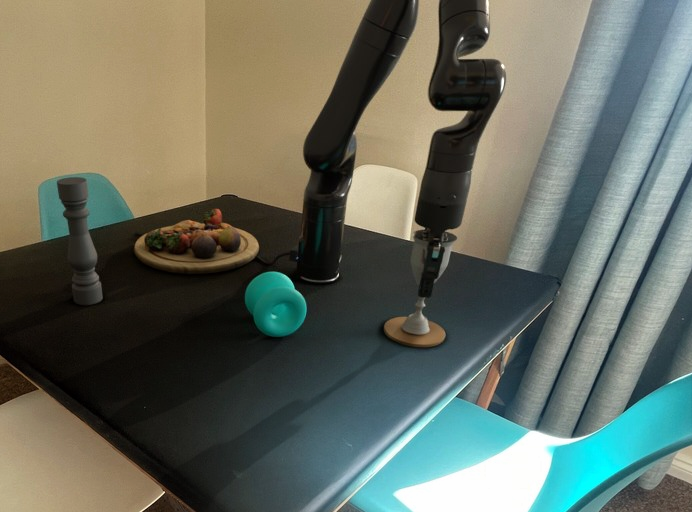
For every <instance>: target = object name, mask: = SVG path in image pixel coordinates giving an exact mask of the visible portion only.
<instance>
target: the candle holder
mask: <svg viewBox="0 0 692 512" xmlns="http://www.w3.org/2000/svg"><path fill="white" fill-rule="evenodd" d="M56 188H57V194H58V199H59V200H60V203H61V204H62V205H63V207H64V209H65V210H64V211H63V212H62V216H63V218H65V220H66V221H67V229H68V245H67V247H68V248H67V259H66V260H67V263H68V265H69V266H70V267H71V268H72V269H73V270H72V271H73V272H74V274H73V276H72V277H71V283H72V284H71V291H72V292H71V293H72V297H73V298H72V299H73V302H74V303H75V304H77V305H80V306H91V305H94V304H98V303H100V302H101V301H102V300H103V298H104V297H103V296H104V295H103V288H102V282H101V281H100V275H98V273H97V272H96V271H95V270H96V267H95V266H96V265H97V264H98V263H97V262H98V253H97V250H96V248H95V245H94V242H93V240H92V237H91V233H90V231H89V224H88V216H89V215H90V210H89V209H88V208H86V207H87V203H88V199H89V188H88V180H87V178H85V177H79V176H72V177H71V176H70V177H63V178H60V179H58V180H56Z"/></svg>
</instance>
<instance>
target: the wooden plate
mask: <svg viewBox="0 0 692 512" xmlns="http://www.w3.org/2000/svg"><path fill="white" fill-rule="evenodd" d="M222 220H223V215H222V212H221V210H220V209H219V208H213V209H210V212H208V211H205V213H204V216H203V217H202V220H201V222H202V223H201V222H199V221H193V220H190V219H187V220H182V221H179V222H178V223H175V224H174V225H169V226H163V227H161V228H157V229H153V230H151V231H148V232H147V233H144V235H143V236H139V238H138V239H137V240H136V241H135V243H134V247H133V252H134V255H135V256H136V258H137V259H138V260H139V261H140V262H141V263H142V264H144V265H145V266H148V267H151V268H153V269H156V270H160V271H163V272H168V273H173V274H185V275H204V274H205V275H207V274H213V273H214V274H215V273H216V274H217V273H222V272H225V271H230V270H233V269H237V268H240V267H243V266H244V265H246V264H248V263H250V262H251V261H252V260H254V259H255V256H256V255H257V256H258V253H259V251H260V245H259V242H258V240H257V238H256V237H254V235H253V234H251V233H249V232H247V231H245V230H242V229H240V228H237V227H234V226H232V225H231V224H229V223H226V222H223V221H222Z"/></svg>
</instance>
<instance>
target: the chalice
mask: <svg viewBox="0 0 692 512" xmlns="http://www.w3.org/2000/svg"><path fill="white" fill-rule="evenodd" d="M422 231H423V232H427V229H426V230H425V229H417V230H415V231H413V232H412V238H413V245H412V250H411V254H410V255H411V256H410V260H409V261H410V265H411V266H410V267H411V272H412V274H413V278H414V280H415V283H416V284H417V285H418V286H419V285H420V280H421V272H422V267H423V264H422V263H421V262H420V260H421V256H422V250H423V248H424V250H425V251H426V252H425V258H426V255H427V246H428V242H427V241H423V240H421V235H422ZM444 233H446V238H447V243H443V244H442V247H445V252H444V255H443V260H442V264H441V267H440V271H439V277H438V279H435V281H434V284H435V283H436V282H437V281H438V280H439V279H440V277H441V276H442V275H443V273H444V271H446V268H447V267H448V265H449V261H450V257H451V252H452V248H453V244H454V243H455V242H457V239H458V236H457V235H455V234H454V233H452V232H448V231H445V232H444ZM434 268H435V267H428V268H427V271H434ZM416 295H417V298H418V299H417V302H415V303H414V306H415V309H416V310H415V312H414V313H411V314H409V315H408V316H406V317H407V319H406V320H405V321H404V323H403V324H402V326H401V327H402V329H403V330H404V331H406V332H409V333H412V334H426V333H428V332H429V330H430V329H429V327H428V323H427V320H428V318H427V317H426V316H425V315H424V314H423V313H422V312H423V308H424V307H426V304H425V299H426V298H425V297H419V296H418V294H416Z"/></svg>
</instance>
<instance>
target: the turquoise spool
mask: <svg viewBox="0 0 692 512" xmlns="http://www.w3.org/2000/svg"><path fill="white" fill-rule="evenodd" d="M294 285H295V284H294V283H293V282H292V280H291V278H289V277H288V276H287V275H286V274H284V273H282V272H278V271H267V272H262V273H261V274H259V275H257V276H256V277H254V278H253V279H252V280H251V281H250V282H249V284H248V285H247V287H246V290H245V293H244V303H245V307H246V309H247V310H248V312H249V313H250V314H251V315H252V316H253V321H254V325H255V326H256V328H257V330H259V331H260V332H261V333H262V334H264V335H266V336H268V337H271V338H272V337H273V338H281V337H283V338H284V337H287V336H289V335H291V334H293V333H294V332H296V331H297V330H298V329H299V328H300V327H301V326H302V324H303V323H304V322H305V319H306V316H307V312H308V311H307V310H308V309H307V302H306V300H305V297H304V296H303V295H302V294H301V292H299V290H297V289H295V286H294Z"/></svg>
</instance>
